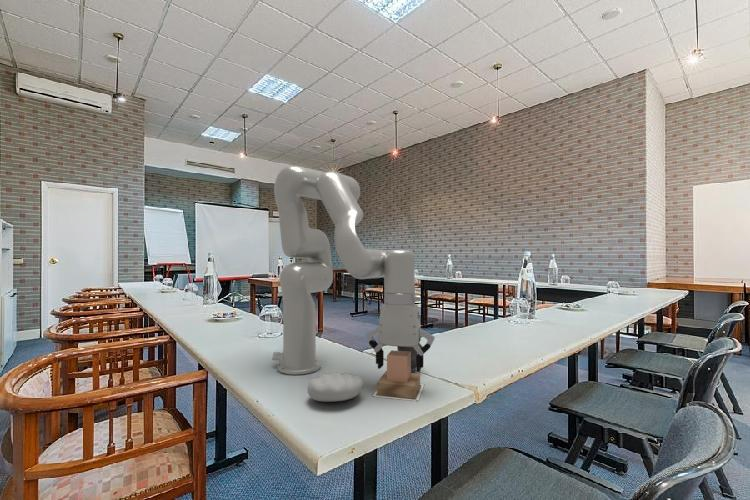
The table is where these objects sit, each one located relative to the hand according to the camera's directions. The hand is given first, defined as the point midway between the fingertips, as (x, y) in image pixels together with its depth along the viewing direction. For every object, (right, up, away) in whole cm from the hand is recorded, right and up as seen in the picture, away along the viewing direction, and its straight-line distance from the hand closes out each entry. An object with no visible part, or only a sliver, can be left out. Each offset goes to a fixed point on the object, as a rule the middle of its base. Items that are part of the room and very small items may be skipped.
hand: (399, 368), depth 88 cm
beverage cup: (+3, -6, +14) cm, 15 cm away
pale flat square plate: (0, -6, 0) cm, 6 cm away
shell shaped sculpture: (-15, -6, -6) cm, 17 cm away
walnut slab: (0, -5, 0) cm, 5 cm away
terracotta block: (0, -2, 0) cm, 2 cm away
